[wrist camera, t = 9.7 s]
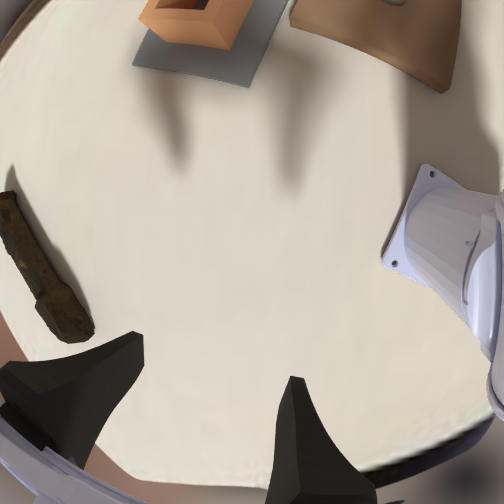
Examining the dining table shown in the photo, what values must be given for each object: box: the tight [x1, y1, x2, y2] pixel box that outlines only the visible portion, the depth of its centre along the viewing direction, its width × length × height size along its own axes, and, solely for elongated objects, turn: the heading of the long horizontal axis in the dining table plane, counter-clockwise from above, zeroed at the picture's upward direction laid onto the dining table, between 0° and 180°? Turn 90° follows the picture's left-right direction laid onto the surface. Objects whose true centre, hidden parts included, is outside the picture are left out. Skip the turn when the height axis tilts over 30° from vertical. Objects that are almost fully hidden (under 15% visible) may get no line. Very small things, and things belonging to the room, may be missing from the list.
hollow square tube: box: [138, 0, 254, 51], centre depth 13 cm, size 5×5×4 cm
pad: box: [132, 0, 289, 88], centre depth 15 cm, size 10×10×1 cm
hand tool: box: [0, 190, 95, 344], centre depth 22 cm, size 19×4×5 cm, turn 38°
